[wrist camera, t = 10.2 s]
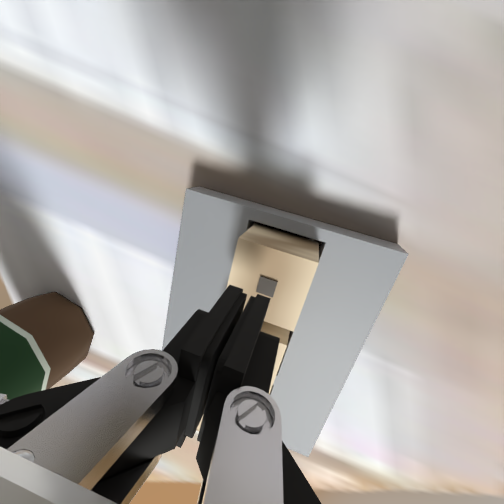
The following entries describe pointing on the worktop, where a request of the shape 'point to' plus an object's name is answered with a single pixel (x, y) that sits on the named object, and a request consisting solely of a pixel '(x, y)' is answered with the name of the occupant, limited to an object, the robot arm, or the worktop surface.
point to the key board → (314, 309)
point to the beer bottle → (40, 343)
